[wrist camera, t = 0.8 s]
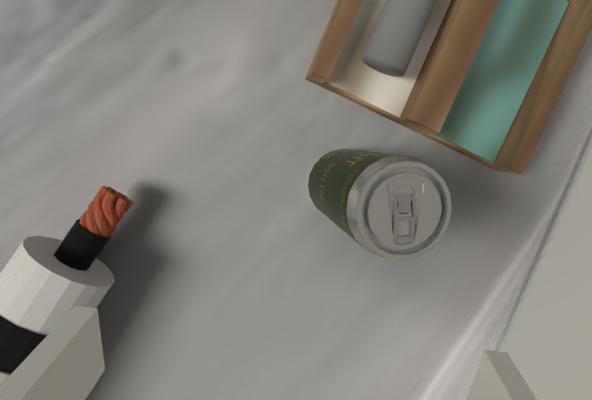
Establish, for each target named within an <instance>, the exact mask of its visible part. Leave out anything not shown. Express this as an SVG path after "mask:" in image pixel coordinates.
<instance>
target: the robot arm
mask: <svg viewBox="0 0 592 400" xmlns="http://www.w3.org/2000/svg"><path fill="white" fill-rule="evenodd" d="M104 371H105V364H104V356H103V348H102V340H101V332H100V324H99V316H98V308H90V307H81V306H75V307H74V308H73V309H72V310H71V311H70V312H69V313H68V314H67V315H66V316H65V317H64V318H63V319H62V320H61V321H60V323H59V324H58V325H57V326H56V327H55V328H54V329H53V330H52V331H51V332H50V333H49V334H48V335H47V336H46V337H45V339H44V340H43V341H42V342H41V343H40V344H39V345H38V346H37V347H36V348H35V349H34V350H33V351H32V352H31V353H30V355H29V356H28V357H27V358H26V359H25V360H24V361H23V362H22V363H21V364H20V365H19V366H18V367H17V368H16V370H15V371H14V372H13V373H12V374H11V375H10V376H9V377H8V378H7V379H6V380H5V381H4V382H3V383H2V384H1V386H0V400H86V398H87V397H88V395H89V394H90V392H91V391H92V389H93V388H94V386H95V384H96V383H97V381H98V380H99V378H100V377H101V375H102V374H103V372H104ZM466 400H537V399H536V398H535V396H534V394H533V393H532V391H531V390H530V388H529V386H528V385H527V383H526V382H525V380H524V379H523V377H522V375H521V374H520V372H519V371H518V369H517V368H516V366H515V364H514V363H513V361H512V360H511V358H510V356H509V355H508V353H505V352H497V351H487V350H484V352H483V355H482V358H481V361H480V363H479V366H478V369H477V372H476V375H475V377H474V380H473V383H472V386H471V388H470V391H469V394H468V397H467V399H466Z"/></svg>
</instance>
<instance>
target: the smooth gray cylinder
mask: <svg viewBox="0 0 592 400" xmlns="http://www.w3.org/2000/svg"><path fill="white" fill-rule="evenodd" d="M436 1H437V0H386V2H385V5H384V7H383V9H382V12H381V14H380V16H379V19H378V21H377V23H376V26H375V28H374V30H373V33H372V35H371V37H370V40H369V42H368V45H367V47H366V49H365V52H364V54H363V56H362V60H363V62H364V63H365V64H366V65H367V66H369V67H370V68H372V69H374V70H376V71H378V72H380V73H383V74H386V75H390V76H396V77H399V76H403V75H404V74H405V72H406V70H407V68H408V65H409V63H410V61H411V59H412V56H413V54H414V52H415V49H416V47H417V45H418V43H419V40H420V38H421V36H422V33H423V31H424V29H425V27H426V24H427V22H428V20H429V17H430V15H431V13H432V11H433V8H434V6H435V4H436Z"/></svg>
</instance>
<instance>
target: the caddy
mask: <svg viewBox="0 0 592 400" xmlns="http://www.w3.org/2000/svg"><path fill="white" fill-rule="evenodd" d="M385 2H386V0H338V1H337V3H336V6H335V8H334V10H333V13H332V15H331V18H330V20H329V23H328V25H327V27H326V30H325V32H324V35H323V37H322V40H321V42H320V44H319V47H318V49H317V52H316V54H315V56H314V59H313V61H312V64H311V66H310V69H309V71H308V73H307V76H306V78H305V79H306V80H309V81H311V82H313V83H315V84H317V85H319V86H321V87H323V88H325V89H327V90H330V91H332V92H334V93H336V94H338V95H340V96H342V97H344V98H346V99H348V100H350V101H353V102H355V103H357V104H359V105H361V106H363V107H365V108H367V109H369V110H371V111H374V112H376V113H378V114H380V115H382V116H384V117H386V118H388V119H390V120H392V121H394V122H397V123H399V124H401V125H403V126H405V127H407V128H409V129H411V130H413V131H415V132H418V133H420V134H422V135H424V136H426V137H428V138H430V139H432V140H434V141H436V142H438V143H441V144H443V145H445V146H447V147H449V148H451V149H453V150H455V151H457V152H459V153H462V154H464V155H466V156H468V157H470V158H472V159H474V160H476V161H478V162H480V163H482V164H485V165H487V166H489V167H491V168H493V169H495V170H499V171H508V172H516V173H523V171H524V169H525V167H526V165H527V163H528V161H529V159H530V157H531V154H532V152H533V150H534V148H535V146H536V144H537V142H538V140H539V138H540V136H541V134H542V131H543V129H544V127H545V125H546V123H547V121H548V119H549V117H550V115H551V113H552V111H553V108H554V106H555V104H556V102H557V100H558V98H559V96H560V94H561V92H562V90H563V87H564V85H565V83H566V81H567V79H568V77H569V75H570V73H571V71H572V69H573V67H574V64H575V62H576V60H577V58H578V56H579V54H580V52H581V50H582V48H583V46H584V44H585V41H586V39H587V37H588V35H589V33H590V31H591V29H592V0H571V1H570V0H437V1H436V4H435V6H434V8H433V11H432V13H431V15H430V17H429V20H428V22H427V24H426V27H425V29H424V31H423V33H422V36H421V38H420V40H419V43H418V45H417V47H416V49H415V52H414V54H413V56H412V59H411V61H410V63H409V65H408V68H407V70H406V72H405V74H404V75H403V76H399V77H396V76H390V75H386V74H383V73H380V72H378V71H376V70H374V69H372V68H370V67H369V66H367V65H366V64H365V63H364V62H363V60H362V56H363V54H364V52H365V49H366V47H367V45H368V42H369V40H370V37H371V35H372V33H373V30H374V28H375V26H376V23H377V21H378V19H379V16H380V14H381V12H382V9H383V7H384V5H385Z"/></svg>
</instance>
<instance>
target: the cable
mask: <svg viewBox="0 0 592 400" xmlns="http://www.w3.org/2000/svg"><path fill="white" fill-rule="evenodd" d="M132 204H133V202H132V201H131V200H129V199H127V197H126V196H125V195H123V194H121V193H119V192H118V193H117V191H116V190H114V189H112V188H110V187H105V186H102V187H101V189H100V190H99V192H98V193H97V195H96V196H95V198H94V200H93V201H92V202H91V203H90V204H89V206H88V209H87V211H86V212H85V213H84V214H83V215H82V216H81V218H80V219H79V220H77V221H76V222H75V224H74V225H73V227H72V228H71V230H70V231H69V233H68V234H67V236H66V237H65V239H64V240H63V241H61V240H58V239H54V238H49V237H43V236H32V237H28V238H26V239H25V240H23V242H22V243H21V245H20V246H19V248H18V249H17V250H16V252H15V253H14V255H13V256H12V257H11V259H10V260H9V262H8V263H7V265H6V266H5V267H4V269H3V270H2V272H1V273H0V386H1V384H2V383H3V382H4V381H5V380H6V379H7V378H8V377H9V376H10V375H11V374H12V373H13V372H14V371H15V370H16V368H17V367H18V366H19V365H20V364H21V363H22V362H23V361H24V360H25V359H26V358H27V357H28V356H29V355H30V353H31V352H32V351H33V350H34V349H35V348H36V347H37V346H38V345H39V344H40V343H41V342H42V341H43V340H44V339H45V337H46V336H47V335H48V334H49V333H50V332H51V331H52V330H53V329H54V328H55V327H56V326H57V325H58V324H59V323H60V321H61V320H62V319H63V318H64V317H65V316H66V315H67V314H68V313H69V312H70V311H71V310H72V309H73V308H74V307H75V306H81V307H90V308H97V306H98V305H99V303H100V302H101V300H102V299H103V297H104V296H105V295H106V293H107V292H108V290H109V289H110V287H111V286H112V284H113V283H114V275H113V274H112V272H111V270H110V269H109V268H108V267H107V266H106V265H105V264H104V263H102V262H101V261H100V260H99V259H97V258H96V257H97V256H98V255H99V253H100V252H101V250H102V249H103V247H104V246H105V244H106V243H107V242H108V240H109V239H110V233H112V232H113V231H114V230H115V227H116V224H117V223H118V222H119V221H120V220H121V219H122V217H123V214H124V213H125V212H126V211H127V210H128V209H129V208H130V206H131V205H132Z"/></svg>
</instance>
